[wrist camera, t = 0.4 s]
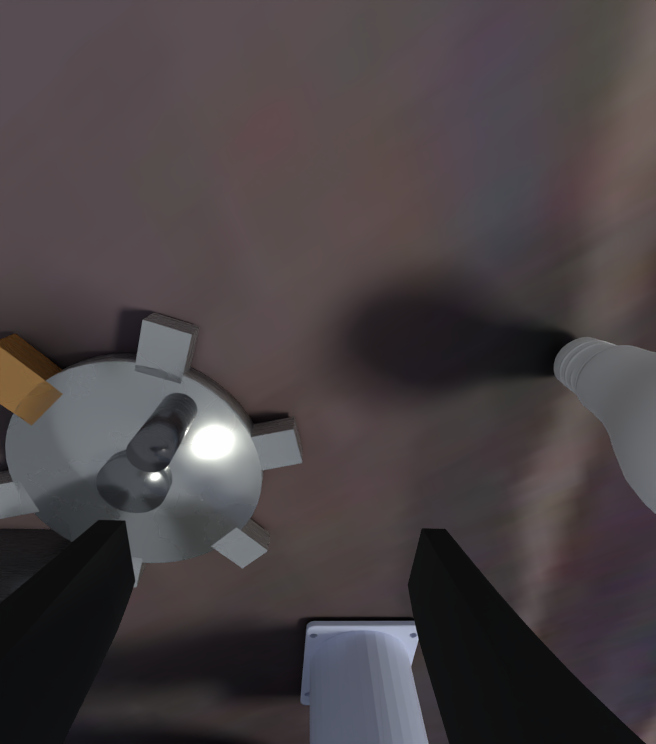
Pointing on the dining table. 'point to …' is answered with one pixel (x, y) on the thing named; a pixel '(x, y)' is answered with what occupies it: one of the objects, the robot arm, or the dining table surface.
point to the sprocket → (138, 448)
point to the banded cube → (25, 555)
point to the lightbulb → (618, 402)
